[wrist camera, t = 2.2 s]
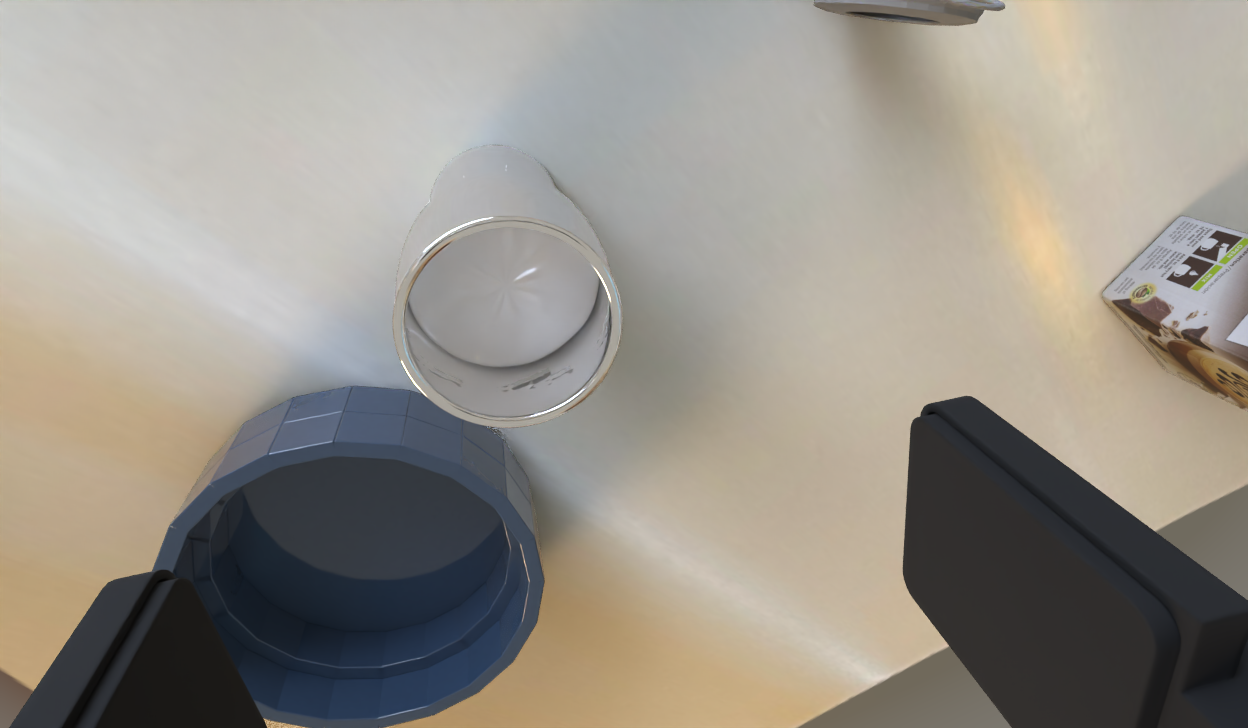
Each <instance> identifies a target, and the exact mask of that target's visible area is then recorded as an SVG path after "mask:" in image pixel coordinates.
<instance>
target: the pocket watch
mask: <svg viewBox="0 0 1248 728" xmlns="http://www.w3.org/2000/svg"><path fill="white" fill-rule="evenodd" d="M986 3H987V4H986ZM814 6H816V7H818V8H820V9H823V10H825V11H829V12H833V13H838V14H842V15H848V16H855V17H862V18H868V19H875V20H882V21H892V22H902V23H913V24H924V25H949V26H959V25H967V24H973V23H977V21H978V19H979V17H980V16H981V15H982V14H983V11H984V10H991V11H1000V10H1003V9H1004V8H1005V4H1004V3H1003V2H1000V1H998V0H814Z"/></svg>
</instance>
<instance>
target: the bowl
mask: <svg viewBox="0 0 1248 728" xmlns="http://www.w3.org/2000/svg"><path fill="white" fill-rule="evenodd" d="M161 569H164V570H169V571H170V572H172V573H173V574H174V575H175V576H176V578H181V577H182V578H187V579H188V580H190V581H191V583H192V584H193V586H194V587H195V589H196V591H197V593H198V595H199V597H200V599H201V601H202V603H203V605H204V607H205V608H206V610H207V612H208V614H209V616H210V618H211V620H212V622H213V624H214V626H215V628H216V629H217V631H218V633H219V635H220V637H221V639H222V641H223V643H224V645H225V647H226V649H227V651H228V652H229V654H230V656H231V658H232V660H233V662H234V664H235V666H236V668H237V670H238V672H239V673H240V675H241V677H242V679H243V681H244V683H245V685H246V687H247V689H248V691H249V693H250V695H251V696H252V698H253V700H254V702H255V704H256V706H257V708H258V710H259V712H260V714H261V716H262V717H263V718H265V719H267V720H269V719H270V721H275V722H280V723H286V724H291V725H297V726H302V727H307V728H379V727H380V728H385V727H389V726H393V725H397V724H401V723H405V722H409V721H413V720H417V719H421V718H425V717H429V716H431V715H432V716H433V715H435V714H437V713H439V712H441V711H443V710H445V709H447V708H449V707H451V706H453V705H455V704H457V703H459V702H461V701H463V700H465V699H467V698H469V697H471V696H473V695H475V694H477V693H478V692H480V691H481V690H482V689H483V688H484V687H485V686H486V685H488V684H489V683H490V682H491V681H492V680H493V679H494V678H496V677H497V676H498V675H499V674H500V673H501V672H502V671H504V670H505V669H506V668H507V667H508V666H509V665H510V664H511V663H513V661H514V660H515V658H516V657H517V655H518V653H519V652H520V650H521V649H522V647H523V645H524V644H525V642H526V640H527V639H528V637H529V635H530V634H531V632H532V630H533V629H534V627H535V625H536V624H537V621H538V615H539V610H540V604H541V599H542V593H543V588H544V582H545V580H544V571H543V564H542V556H541V548H540V540H539V533H538V525H537V518H536V512H535V508H534V503H533V499H532V494H531V490H530V485H529V481H528V477H527V475H526V474H525V472H524V471H523V469H522V468H521V466H520V465H519V463H518V462H517V460H516V459H515V457H514V456H513V454H512V453H511V451H510V450H509V448H508V447H507V445H506V444H505V442H504V441H503V440H502V439H501V438H500V437H498V436H497V435H496V434H494V433H493V432H492V431H491V430H489V429H488V428H487V427H485V426H483V425H479V424H475V423H471V422H468V421H465V420H462V419H460V418H458V417H455V416H453V415H451V414H449V413H447V412H446V411H444V410H442V409H441V408H439V407H438V406H437V405H435V404H434V403H433V402H431V401H430V400H429V399H428V398H427V397H426V396H424V395H422V394H419V393H417V392H414V391H410V390H401V389H388V388H376V387H364V386H353V387H352V386H349V387H344V388H338V389H333V390H328V391H323V392H317V393H312V394H307V395H302V396H297V397H293V398H291V399H289V400H287V401H285V402H283V403H281V404H280V405H278V406H276V407H274V408H272V409H270V410H268V411H266V412H264V413H262V414H260V415H258V416H256V417H254V418H253V419H251V420H249V421H247V422H245V423H244V424H243V425H242V426H241V427H240V428H239V429H238V430H237V431H236V432H235V433H234V434H233V435H232V436H231V437H230V438H229V440H228V441H227V442H226V443H225V444H224V445H223V446H222V447H221V448H220V449H219V450H218V451H217V452H216V453H215V454H214V455H213V456H212V457H211V458H210V460H209V461H208V463H207V465H206V466H205V468H204V470H203V471H202V473H201V475H200V476H199V478H198V479H197V481H196V483H195V484H194V486H193V488H192V489H191V491H190V493H189V494H188V496H187V498H186V499H185V501H184V502H183V504H182V506H181V507H180V509H179V511H178V512H177V514H176V516H175V517H174V519H173V521H172V522H171V524H170V525H169V528H168V530H167V533H166V536H165V538H164V541H163V543H162V546H161V549H160V551H159V554H158V557H157V559H156V562H155V565H154V567H153V570H152V571H156V570H161Z"/></svg>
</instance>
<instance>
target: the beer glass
mask: <svg viewBox="0 0 1248 728" xmlns="http://www.w3.org/2000/svg"><path fill="white" fill-rule="evenodd" d="M622 330H623V311H622V303H621V298H620V294H619V291H618V288H617V285H616V283H615V280H614V278H613V276H612V272H611V269H610V266H609V263H608V260H607V257H606V254H605V252H604V250H603V247H602V245H601V243H600V241H599V239H598V237H597V235H596V233H595V231H594V229H593V228H592V226H591V225H590V223H589V222H588V221H587V219H586V218H585V217H584V215H583V214H582V213H581V212H580V210H579V209H578V208H577V207H576V206H575V205H574V203H573V202H572V201H571V200H569V199H568V198H567V197H566V196H565V195H564V194H562V193H561V192H560V191H558V190H557V188H556V186H555V184H554V182H553V180H552V178H551V176H550V175H549V173H548V172H547V171H546V169H545V168H544V167H543V166H542V165H541V164H540V163H539V162H538V161H537V160H535V159H534V158H533V157H531V156H530V155H528V154H526V153H524V152H523V151H520V150H518V149H515V148H512V147H508V146H503V145H483V146H478V147H474V148H471V149H469V150H466V151H464V152H462V153H460V154H459V155H457V156H456V157H454V158H453V159H452V160H451V161H449V162H448V163H447V164H446V166H445V167H444V168H443V169H442V171H441V172H440V174H439V175H438V177H437V179H436V180H435V183H434V185H433V188H432V191H431V195H430V202H429V203H428V204H427V205H426V206H425V207H424V208H423V209H422V211H421V212H420V213H419V215H418V216H417V218H416V220H415V221H414V223H413V225H412V227H411V229H410V231H409V234H408V236H407V238H406V240H405V243H404V245H403V248H402V252H401V255H400V260H399V265H398V270H397V276H396V286H395V303H394V309H393V336H394V341H395V346H396V350H397V353H398V356H399V358H400V361H401V363H402V365H403V367H404V369H405V371H406V373H407V374H408V376H409V378H410V379H411V381H412V382H413V383H414V385H415V386H416V387H417V388H418V389H419V390H420V391H421V393H422V394H423V395H424V396H426V397H427V398H428V399H429V400H430V401H431V402H433V403H434V404H435V405H437V406H438V407H439V408H441V409H442V410H444V411H446V412H447V413H449V414H451V415H453V416H455V417H458V418H460V419H462V420H465V421H468V422H471V423H475V424H479V425H483V426H489V427H499V428H514V427H524V426H530V425H535V424H539V423H542V422H546V421H549V420H551V419H554V418H556V417H558V416H561V415H563V414H565V413H566V412H568V411H570V410H572V409H573V408H575V407H576V406H578V405H579V404H580V403H582V402H583V401H584V400H585V399H586V398H588V397H589V396H590V395H591V394H592V393H593V392H594V391H595V390H596V389H597V387H598V386H599V385H600V384H601V383H602V381H603V380H604V378H605V377H606V376H607V374H608V372H609V371H610V369H611V367H612V365H613V363H614V361H615V358H616V356H617V353H618V350H619V347H620V343H621V338H622Z"/></svg>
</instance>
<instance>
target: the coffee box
mask: <svg viewBox="0 0 1248 728" xmlns="http://www.w3.org/2000/svg"><path fill="white" fill-rule="evenodd" d="M1102 298H1103V300H1104V301H1105V302H1106V303H1107V304H1108V305H1109V307H1110V308H1111V309H1112V310H1113V311H1114V312H1115V313H1116V315H1117V316H1118V317H1119V318H1120V319H1121V320H1122V321H1123V322H1124V324H1125V325H1126V326H1127V327H1128V328H1129V329H1130V330H1131V331H1132V333H1133V334H1134V335H1135V336H1136V337H1137V338H1138V339H1139V341H1140V342H1141V343H1142V344H1143V345H1144V346H1145V347H1146V349H1147V350H1148V351H1149V352H1150V353H1151V354H1152V356H1153V357H1154V358H1155V359H1156V360H1157V361H1158V362H1159V363H1160V365H1161V366H1162V367H1163V368H1164V369H1165V370H1166V371H1167V372H1169V373H1171V374H1173V375H1175V376H1177V377H1179V378H1181V379H1183V380H1185V381H1187V382H1189V383H1191V384H1193V385H1195V386H1197V387H1199V388H1201V389H1203V390H1205V391H1207V392H1209V393H1211V394H1213V395H1215V396H1217V397H1219V398H1221V399H1223V400H1225V401H1227V402H1229V403H1231V404H1233V405H1236V406H1238V407H1239V408H1241V409H1243V410H1246V411H1248V233H1244V232H1240V231H1236V230H1232V229H1229V228H1225V227H1222V226H1218V225H1214V224H1211V223H1207V222H1204V221H1200V220H1197V219H1193V218H1190V217H1187V216H1180V217H1179V218H1178V219H1176V220H1175V221H1174V222H1173V223H1172V224H1171V225H1170V226H1169V227H1168V228H1167V229H1166V230H1165V231H1164V232H1163V233H1162V234H1161V235H1160V236H1159V237H1158V238H1157V239H1156V240H1155V241H1154V242H1153V243H1152V244H1151V245H1150V246H1149V247H1148V248H1147V249H1146V250H1145V251H1144V252H1143V253H1142V254H1141V255H1140V256H1139V257H1138V258H1137V259H1136V260H1135V261H1134V262H1133V263H1132V264H1131V265H1130V266H1129V267H1128V268H1127V269H1126V270H1125V271H1124V272H1123V273H1122V274H1120V275H1119V276H1118V277H1117V278H1116V279H1115V280H1114V281H1113V282H1112V283H1111V284H1110V285H1109V286H1108V287H1107V288H1106V289H1105V290H1104V291H1103V293H1102Z"/></svg>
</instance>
